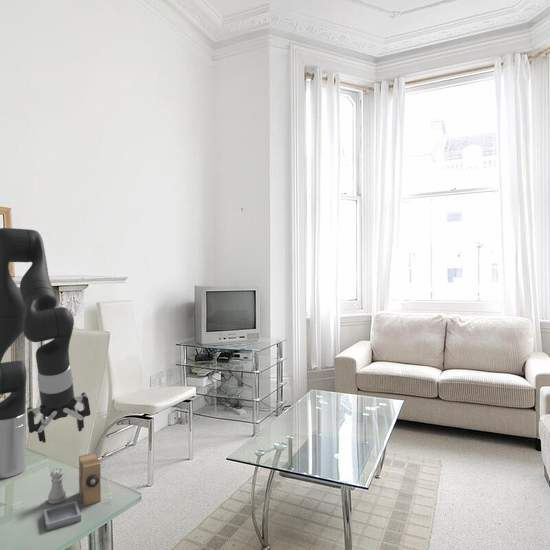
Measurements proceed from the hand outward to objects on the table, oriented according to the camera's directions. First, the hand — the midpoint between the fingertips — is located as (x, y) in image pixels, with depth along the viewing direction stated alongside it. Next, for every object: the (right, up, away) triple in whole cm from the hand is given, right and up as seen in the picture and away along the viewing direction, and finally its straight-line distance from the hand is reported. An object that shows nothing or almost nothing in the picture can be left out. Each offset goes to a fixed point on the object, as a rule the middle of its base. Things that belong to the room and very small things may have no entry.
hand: (62, 434), depth 111 cm
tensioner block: (+6, -18, +3) cm, 19 cm away
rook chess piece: (-2, -18, +1) cm, 18 cm away
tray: (+4, -18, -7) cm, 20 cm away
